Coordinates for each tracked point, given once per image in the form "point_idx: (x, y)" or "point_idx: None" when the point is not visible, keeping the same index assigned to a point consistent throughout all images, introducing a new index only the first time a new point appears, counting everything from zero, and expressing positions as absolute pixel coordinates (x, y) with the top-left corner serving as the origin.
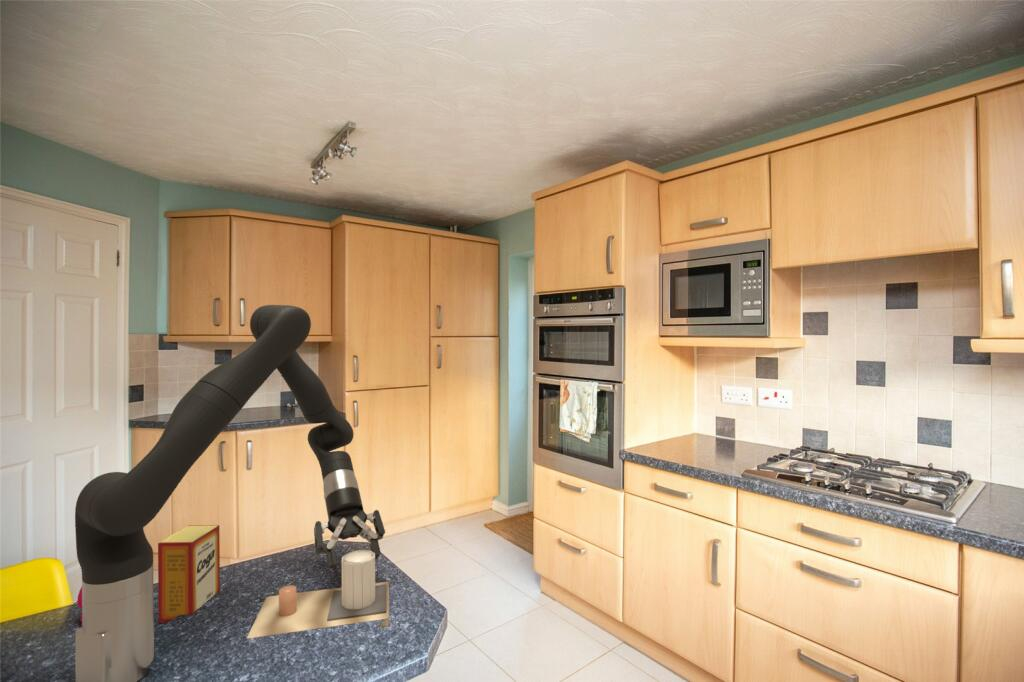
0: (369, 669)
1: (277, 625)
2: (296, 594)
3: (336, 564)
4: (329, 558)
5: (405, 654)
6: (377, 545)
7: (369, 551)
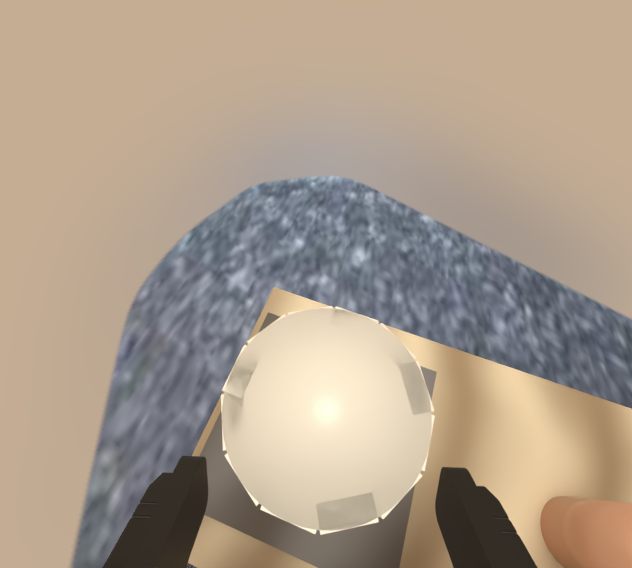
0: (363, 193)
1: (591, 447)
2: (585, 536)
3: (448, 469)
4: (508, 532)
5: (289, 194)
6: (135, 532)
7: (237, 444)
